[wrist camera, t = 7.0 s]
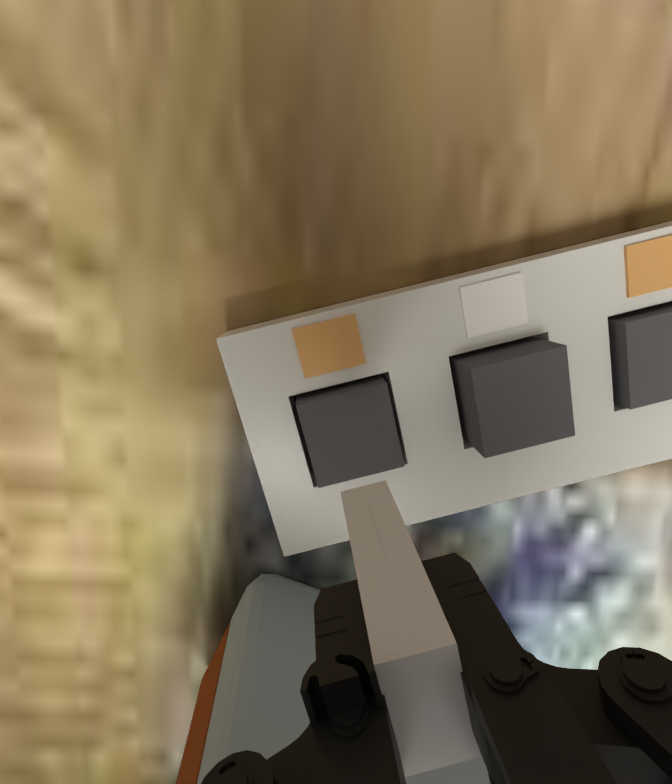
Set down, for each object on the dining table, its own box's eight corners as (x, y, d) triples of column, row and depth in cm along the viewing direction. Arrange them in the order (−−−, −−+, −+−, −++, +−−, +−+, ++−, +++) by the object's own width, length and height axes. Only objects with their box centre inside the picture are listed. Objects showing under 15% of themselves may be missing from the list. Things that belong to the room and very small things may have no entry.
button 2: (316, 461, 25) (318, 488, 22) (296, 388, 24) (295, 405, 21) (391, 442, 25) (404, 466, 22) (375, 368, 24) (386, 382, 21)
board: (286, 526, 26) (283, 559, 23) (226, 331, 23) (215, 339, 20) (703, 420, 27) (756, 439, 23) (700, 213, 23) (761, 203, 20)
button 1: (590, 393, 25) (630, 409, 22) (583, 316, 24) (625, 322, 21) (664, 374, 25) (715, 387, 22) (661, 297, 24) (715, 300, 21)
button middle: (461, 434, 24) (484, 458, 21) (447, 356, 23) (470, 369, 19) (539, 414, 24) (575, 435, 21) (530, 335, 23) (566, 345, 19)
